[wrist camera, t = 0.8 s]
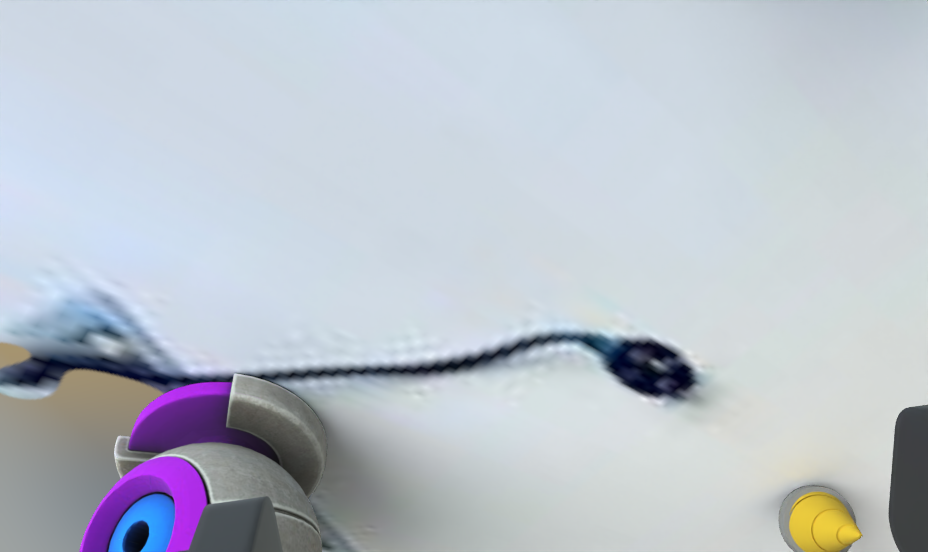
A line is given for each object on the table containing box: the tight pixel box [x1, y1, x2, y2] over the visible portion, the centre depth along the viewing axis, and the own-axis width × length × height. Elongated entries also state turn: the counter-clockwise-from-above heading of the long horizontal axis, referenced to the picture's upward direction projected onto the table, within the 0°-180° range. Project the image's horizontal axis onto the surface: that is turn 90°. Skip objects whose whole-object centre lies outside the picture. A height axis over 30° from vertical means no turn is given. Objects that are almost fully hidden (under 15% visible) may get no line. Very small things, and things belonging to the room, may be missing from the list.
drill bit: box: [779, 486, 862, 552], centre depth 58 cm, size 5×5×10 cm
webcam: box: [80, 373, 327, 552], centre depth 46 cm, size 13×13×15 cm
